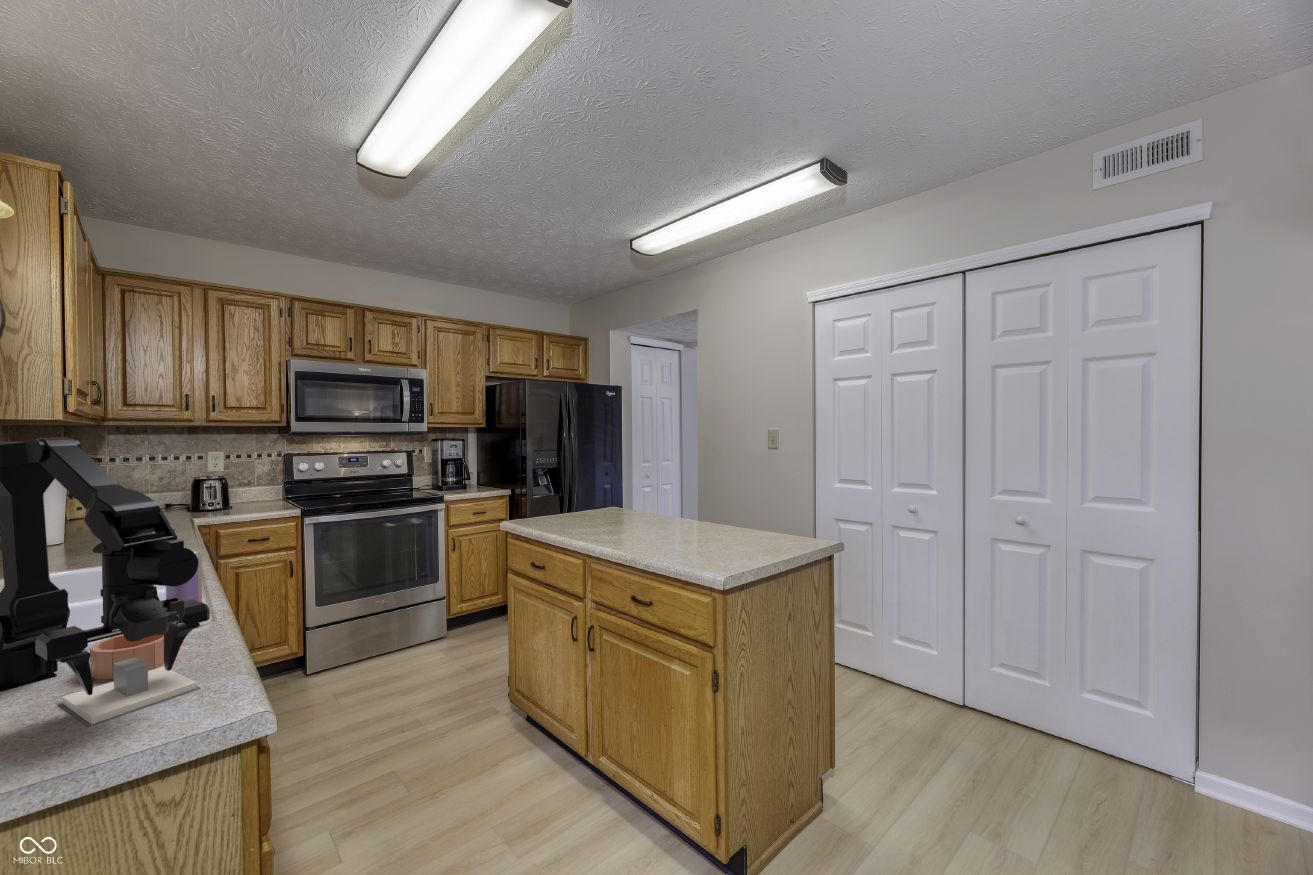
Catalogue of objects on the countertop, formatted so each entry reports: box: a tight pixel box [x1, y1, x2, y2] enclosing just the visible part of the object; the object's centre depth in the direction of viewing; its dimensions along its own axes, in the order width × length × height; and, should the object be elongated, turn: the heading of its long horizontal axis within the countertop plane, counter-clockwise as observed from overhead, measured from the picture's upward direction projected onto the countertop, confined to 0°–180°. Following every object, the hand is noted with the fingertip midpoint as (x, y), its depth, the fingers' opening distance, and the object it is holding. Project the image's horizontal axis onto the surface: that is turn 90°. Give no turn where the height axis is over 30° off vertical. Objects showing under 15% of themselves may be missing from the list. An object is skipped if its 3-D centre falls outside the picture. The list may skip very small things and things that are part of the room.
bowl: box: [89, 634, 165, 680], centre depth 96 cm, size 10×10×5 cm
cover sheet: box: [61, 658, 197, 724], centre depth 85 cm, size 12×12×5 cm
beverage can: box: [165, 549, 203, 603], centre depth 119 cm, size 6×6×15 cm
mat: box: [56, 685, 202, 728], centre depth 85 cm, size 13×13×1 cm
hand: (130, 681), depth 85 cm, fingers open, 9 cm apart
